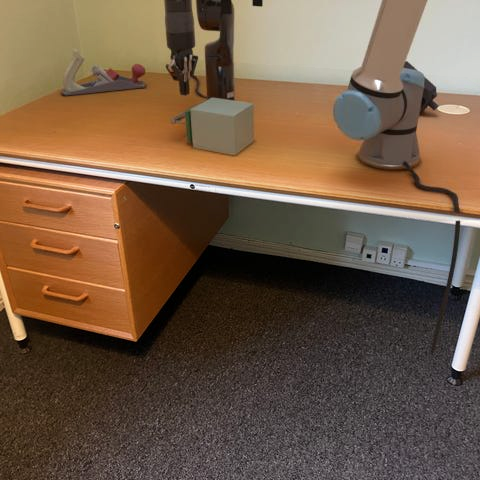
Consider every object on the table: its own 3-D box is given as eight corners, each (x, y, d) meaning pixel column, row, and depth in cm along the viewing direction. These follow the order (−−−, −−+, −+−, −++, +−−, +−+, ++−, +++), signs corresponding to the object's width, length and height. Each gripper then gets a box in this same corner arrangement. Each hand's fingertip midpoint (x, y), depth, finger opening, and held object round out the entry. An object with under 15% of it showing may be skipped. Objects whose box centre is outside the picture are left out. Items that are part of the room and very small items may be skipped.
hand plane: (62, 90, 197) (53, 48, 189) (145, 82, 205) (140, 41, 197) (62, 96, 191) (54, 53, 184) (148, 87, 199) (143, 45, 191)
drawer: (169, 138, 151) (166, 108, 147) (188, 127, 159) (186, 97, 154) (224, 149, 144) (222, 117, 139) (241, 136, 152) (241, 105, 147)
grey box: (192, 147, 148) (190, 109, 142) (213, 134, 157) (211, 97, 151) (234, 155, 143) (233, 116, 137) (253, 141, 151) (253, 103, 146)
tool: (376, 92, 179) (403, 55, 168) (419, 129, 175) (449, 94, 164) (367, 96, 175) (394, 59, 164) (411, 135, 171) (441, 99, 160)
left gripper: (181, 23, 145) (186, 86, 154) (153, 32, 135) (160, 99, 144) (205, 25, 142) (208, 89, 151) (178, 34, 132) (183, 103, 141)
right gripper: (257, -89, 134) (257, 2, 146) (194, -87, 117) (199, 15, 129) (283, -90, 131) (281, 4, 142) (221, -88, 114) (224, 18, 125)
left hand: (184, 94), depth 148 cm, fingers closed
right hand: (242, 10), depth 135 cm, fingers open, 13 cm apart
